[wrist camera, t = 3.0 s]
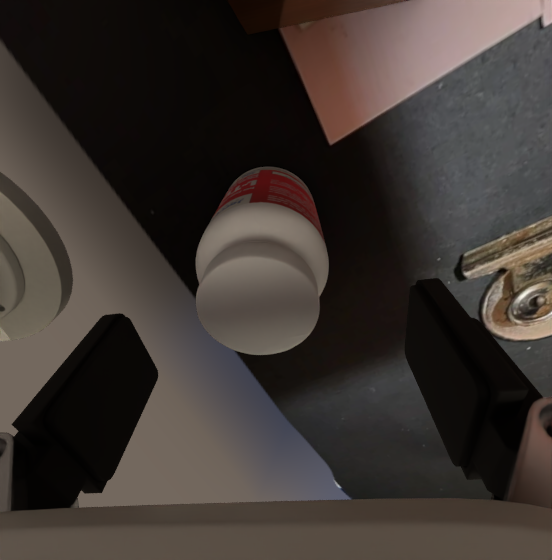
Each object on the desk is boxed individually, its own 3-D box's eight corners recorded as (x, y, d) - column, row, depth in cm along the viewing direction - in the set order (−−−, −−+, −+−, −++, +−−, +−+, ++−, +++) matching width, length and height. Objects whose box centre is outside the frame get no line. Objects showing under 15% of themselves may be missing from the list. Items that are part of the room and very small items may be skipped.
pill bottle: (253, 144, 18) (223, 197, 9) (332, 198, 20) (377, 292, 11) (208, 224, 21) (149, 329, 12) (281, 266, 23) (280, 387, 13)
